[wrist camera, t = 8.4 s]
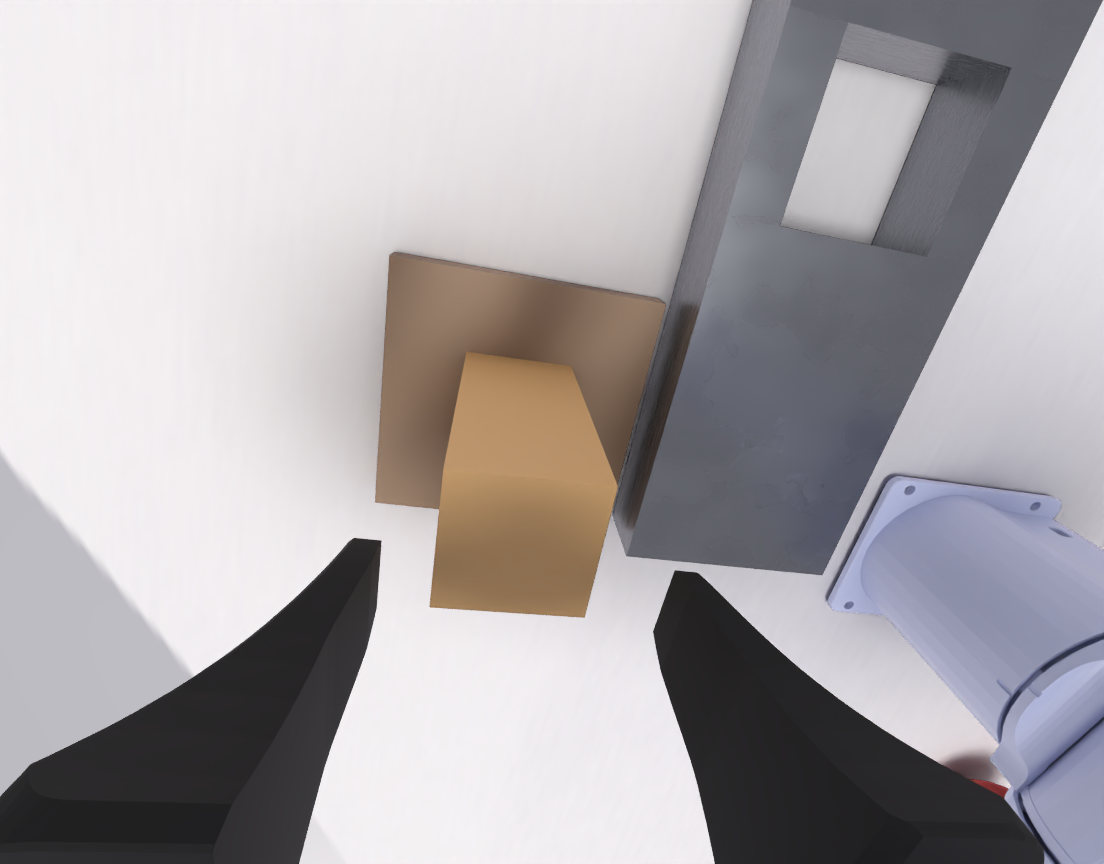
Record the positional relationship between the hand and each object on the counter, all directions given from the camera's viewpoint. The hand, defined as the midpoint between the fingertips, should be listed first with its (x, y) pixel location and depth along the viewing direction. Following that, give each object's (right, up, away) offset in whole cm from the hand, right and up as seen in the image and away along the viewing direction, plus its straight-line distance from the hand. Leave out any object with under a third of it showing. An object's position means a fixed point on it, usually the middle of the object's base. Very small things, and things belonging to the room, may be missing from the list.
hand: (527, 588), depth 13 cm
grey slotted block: (+10, +9, +8) cm, 16 cm away
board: (-1, +5, +9) cm, 10 cm away
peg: (-1, +5, +8) cm, 9 cm away
